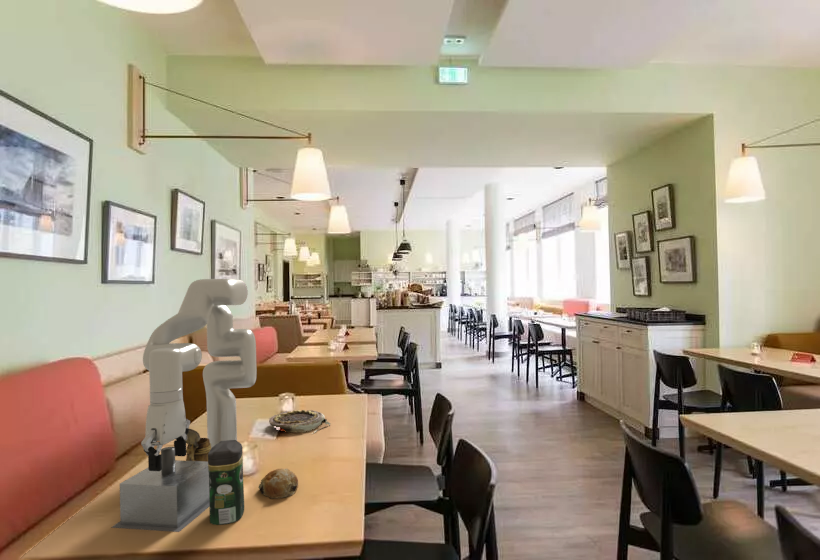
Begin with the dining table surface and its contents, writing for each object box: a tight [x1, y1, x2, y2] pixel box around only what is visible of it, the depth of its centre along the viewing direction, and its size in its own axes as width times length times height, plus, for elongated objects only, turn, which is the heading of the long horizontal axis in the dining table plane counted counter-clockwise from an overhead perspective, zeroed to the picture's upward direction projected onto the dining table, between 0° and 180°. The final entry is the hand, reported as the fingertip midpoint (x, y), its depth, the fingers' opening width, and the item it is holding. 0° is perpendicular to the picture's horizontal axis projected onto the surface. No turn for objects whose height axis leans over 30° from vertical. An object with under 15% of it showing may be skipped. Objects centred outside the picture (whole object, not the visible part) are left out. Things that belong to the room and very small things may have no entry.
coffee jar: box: [208, 440, 245, 526], centre depth 119 cm, size 10×8×19 cm
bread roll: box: [258, 468, 299, 500], centre depth 133 cm, size 10×10×8 cm
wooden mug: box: [185, 427, 211, 462], centre depth 141 cm, size 9×14×18 cm, turn 1°
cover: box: [119, 446, 210, 528], centre depth 121 cm, size 15×15×16 cm
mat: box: [110, 502, 210, 533], centre depth 122 cm, size 18×18×1 cm
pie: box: [268, 409, 332, 435], centre depth 193 cm, size 28×27×5 cm
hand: (168, 462), depth 121 cm, fingers open, 9 cm apart
